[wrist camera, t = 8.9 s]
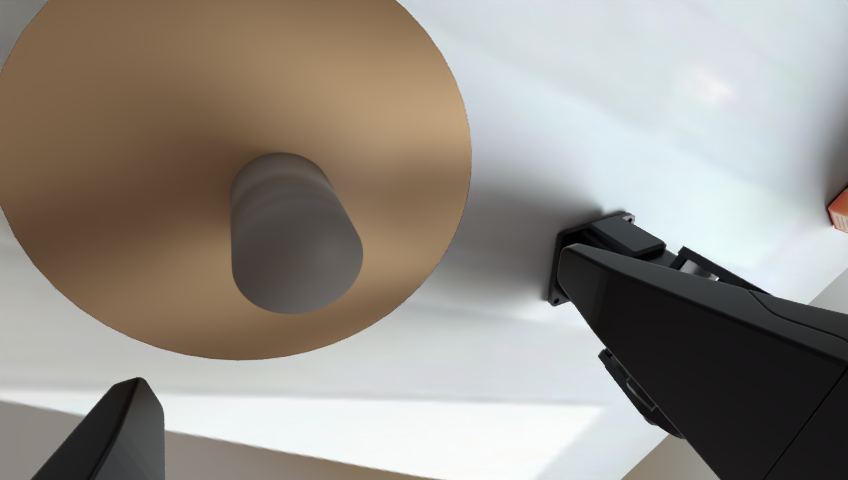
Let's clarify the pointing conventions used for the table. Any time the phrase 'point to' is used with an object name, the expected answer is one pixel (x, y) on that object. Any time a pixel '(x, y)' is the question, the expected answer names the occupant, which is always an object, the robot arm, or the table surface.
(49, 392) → the table surface
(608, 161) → the table surface
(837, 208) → the cracker box
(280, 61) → the lid
